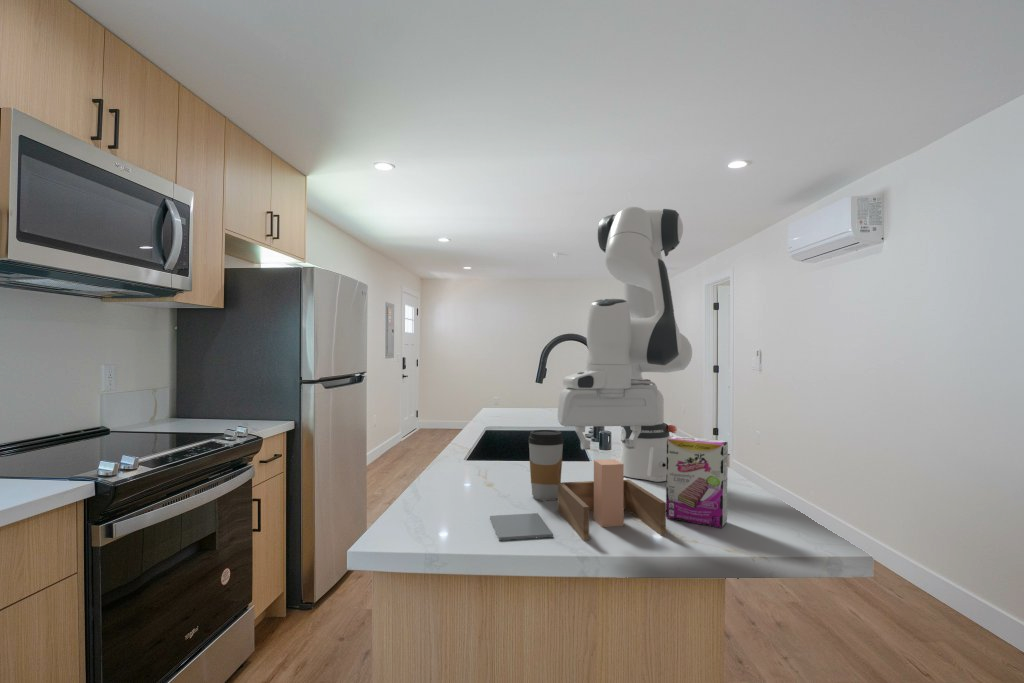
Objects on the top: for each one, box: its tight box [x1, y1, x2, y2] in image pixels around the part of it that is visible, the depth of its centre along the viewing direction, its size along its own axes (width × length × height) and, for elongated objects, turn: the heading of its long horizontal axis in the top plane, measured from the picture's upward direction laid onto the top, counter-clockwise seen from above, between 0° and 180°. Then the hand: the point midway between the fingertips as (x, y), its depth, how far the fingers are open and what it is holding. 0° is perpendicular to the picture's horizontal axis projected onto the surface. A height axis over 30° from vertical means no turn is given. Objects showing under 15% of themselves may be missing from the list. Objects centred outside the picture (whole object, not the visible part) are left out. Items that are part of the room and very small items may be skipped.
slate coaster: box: [489, 512, 554, 541], centre depth 100 cm, size 10×12×1 cm
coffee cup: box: [528, 429, 564, 501], centre depth 120 cm, size 8×8×15 cm
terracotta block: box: [593, 458, 625, 528], centre depth 103 cm, size 4×4×12 cm
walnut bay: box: [557, 479, 667, 541], centre depth 103 cm, size 16×17×6 cm
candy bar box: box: [665, 435, 729, 529], centre depth 104 cm, size 11×5×16 cm, turn 58°
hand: (608, 448), depth 103 cm, fingers open, 8 cm apart
